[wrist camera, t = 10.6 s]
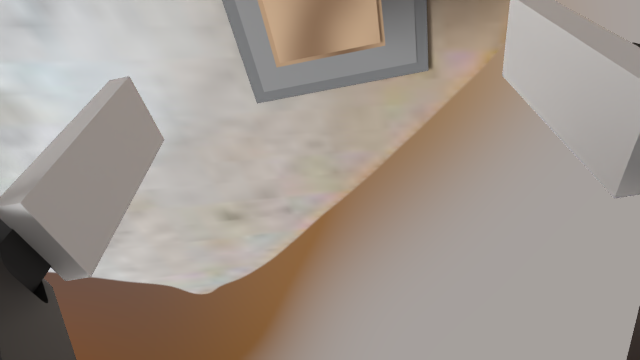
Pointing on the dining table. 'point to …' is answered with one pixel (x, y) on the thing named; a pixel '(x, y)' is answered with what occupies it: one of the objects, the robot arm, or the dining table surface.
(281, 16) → the small wooden stool
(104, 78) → the dining table surface
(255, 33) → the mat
